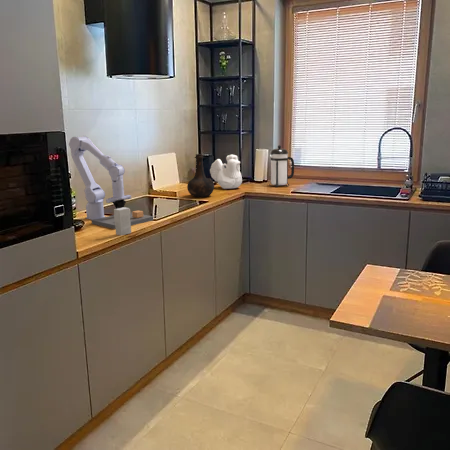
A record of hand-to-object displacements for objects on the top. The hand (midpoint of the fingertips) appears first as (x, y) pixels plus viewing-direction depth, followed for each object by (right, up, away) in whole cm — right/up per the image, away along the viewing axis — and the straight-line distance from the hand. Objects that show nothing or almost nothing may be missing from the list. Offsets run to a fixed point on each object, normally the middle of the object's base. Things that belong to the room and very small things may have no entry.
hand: (120, 214), depth 242 cm
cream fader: (+2, 0, +3) cm, 3 cm away
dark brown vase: (+39, +13, +65) cm, 77 cm away
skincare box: (+8, -10, -28) cm, 31 cm away
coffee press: (+96, +23, +102) cm, 142 cm away
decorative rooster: (+56, +21, +96) cm, 114 cm away
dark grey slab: (+2, -4, -4) cm, 6 cm away
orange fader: (+10, -1, -3) cm, 11 cm away
